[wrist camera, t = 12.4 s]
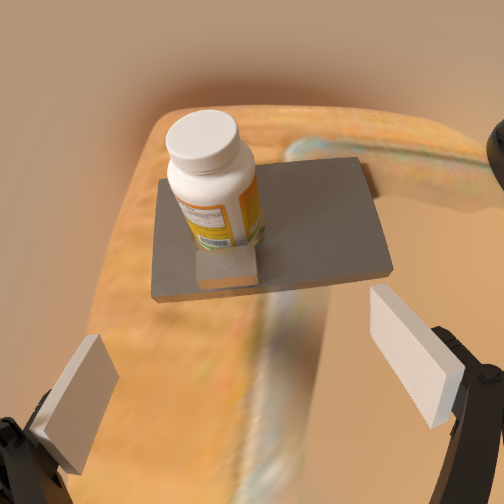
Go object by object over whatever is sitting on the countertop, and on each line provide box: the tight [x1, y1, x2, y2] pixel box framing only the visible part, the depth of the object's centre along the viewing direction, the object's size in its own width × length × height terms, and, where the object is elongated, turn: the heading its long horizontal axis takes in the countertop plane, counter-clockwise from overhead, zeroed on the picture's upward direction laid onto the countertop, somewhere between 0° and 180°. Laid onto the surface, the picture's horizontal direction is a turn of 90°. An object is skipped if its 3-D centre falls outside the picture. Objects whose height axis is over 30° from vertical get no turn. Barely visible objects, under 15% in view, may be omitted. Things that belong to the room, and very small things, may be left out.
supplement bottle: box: [166, 110, 261, 250], centre depth 20 cm, size 5×5×10 cm
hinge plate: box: [151, 157, 393, 303], centre depth 24 cm, size 18×11×4 cm, turn 95°
